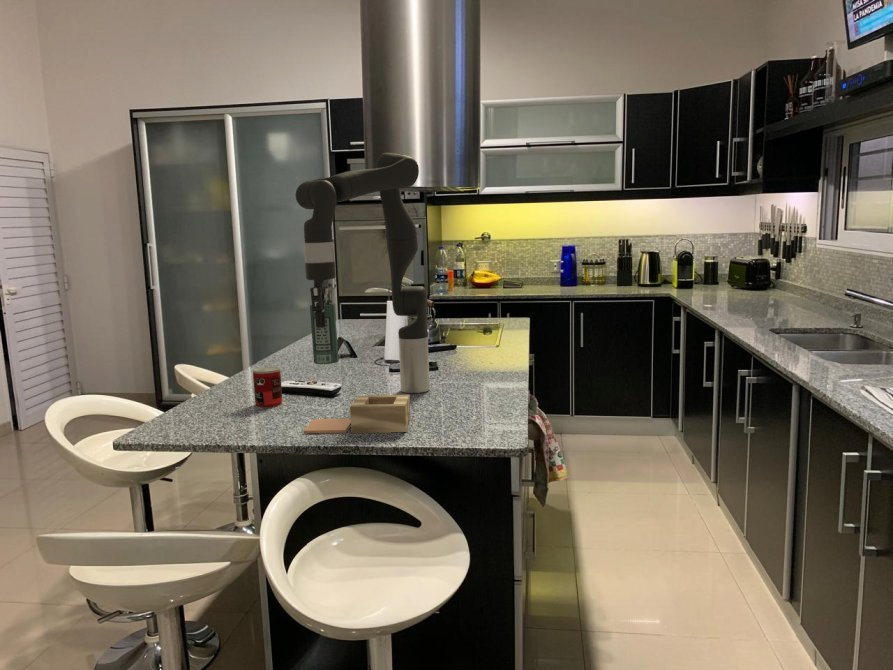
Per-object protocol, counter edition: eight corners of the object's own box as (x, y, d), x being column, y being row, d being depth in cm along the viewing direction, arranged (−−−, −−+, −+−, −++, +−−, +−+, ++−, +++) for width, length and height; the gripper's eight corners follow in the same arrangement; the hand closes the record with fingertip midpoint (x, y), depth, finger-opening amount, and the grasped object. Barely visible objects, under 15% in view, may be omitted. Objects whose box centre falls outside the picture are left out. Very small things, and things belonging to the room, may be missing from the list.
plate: (313, 422, 192) (313, 419, 192) (353, 421, 192) (353, 418, 192) (303, 433, 182) (303, 430, 181) (345, 433, 181) (345, 430, 181)
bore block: (359, 420, 192) (358, 395, 191) (410, 419, 192) (409, 394, 190) (351, 433, 180) (349, 406, 179) (406, 432, 180) (404, 405, 179)
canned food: (254, 403, 216) (251, 368, 214) (280, 400, 219) (278, 365, 217) (256, 409, 209) (254, 372, 207) (284, 405, 212) (281, 369, 210)
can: (340, 359, 187) (336, 303, 185) (335, 363, 181) (331, 305, 179) (317, 360, 187) (313, 303, 185) (312, 364, 181) (308, 306, 179)
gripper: (328, 261, 173) (332, 329, 175) (340, 258, 187) (343, 321, 190) (298, 262, 173) (302, 330, 176) (311, 259, 187) (315, 322, 190)
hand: (323, 325), depth 183 cm, fingers closed on can, 6 cm apart
